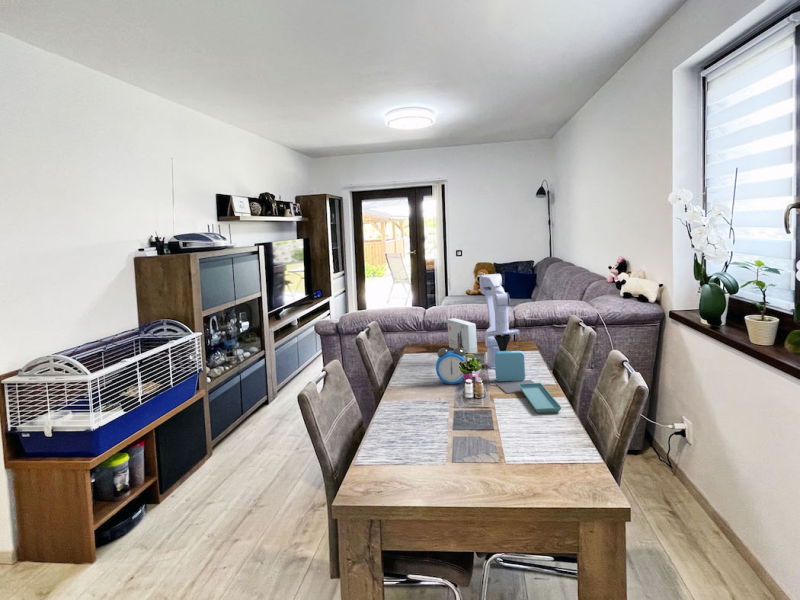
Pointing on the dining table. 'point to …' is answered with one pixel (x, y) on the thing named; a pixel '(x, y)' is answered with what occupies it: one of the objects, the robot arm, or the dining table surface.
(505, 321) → the robot arm
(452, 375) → the alarm clock
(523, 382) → the mat
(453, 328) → the skincare box
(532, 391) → the teal serving tray
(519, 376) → the data package
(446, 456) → the dining table surface
